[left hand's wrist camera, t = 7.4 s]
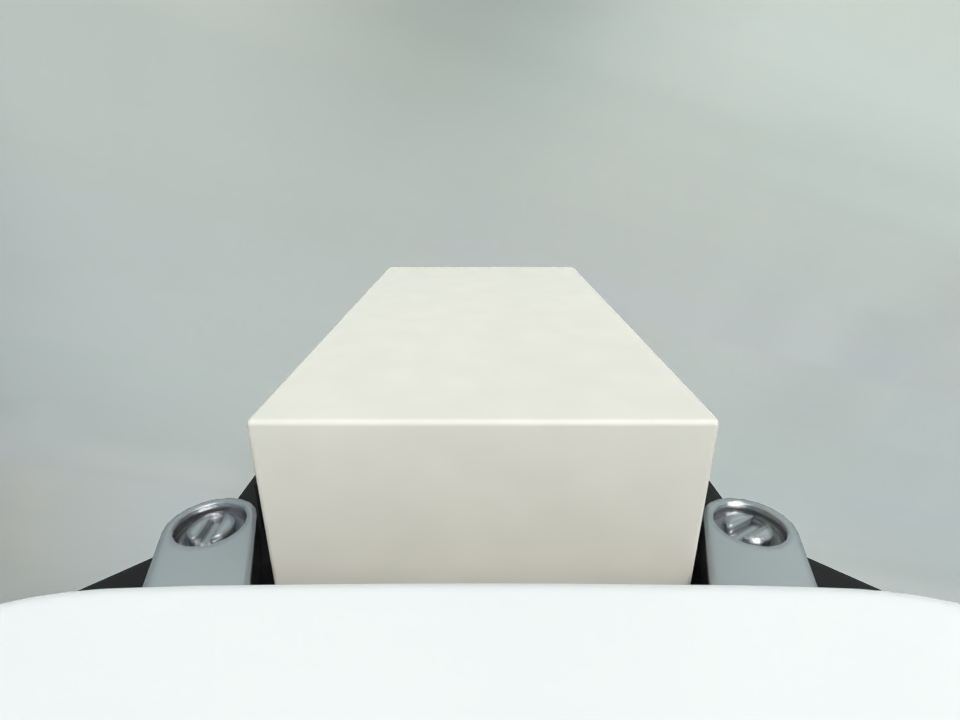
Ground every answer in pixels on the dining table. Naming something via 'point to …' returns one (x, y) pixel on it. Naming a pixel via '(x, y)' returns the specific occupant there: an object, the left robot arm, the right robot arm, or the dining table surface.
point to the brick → (482, 440)
